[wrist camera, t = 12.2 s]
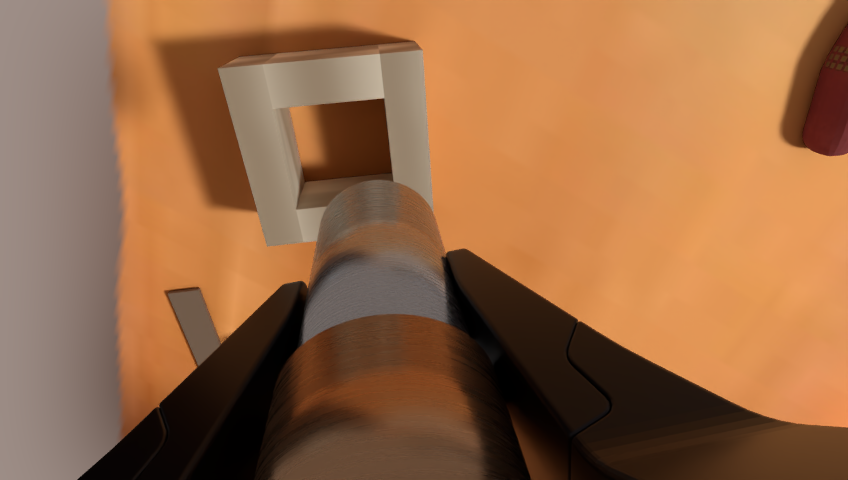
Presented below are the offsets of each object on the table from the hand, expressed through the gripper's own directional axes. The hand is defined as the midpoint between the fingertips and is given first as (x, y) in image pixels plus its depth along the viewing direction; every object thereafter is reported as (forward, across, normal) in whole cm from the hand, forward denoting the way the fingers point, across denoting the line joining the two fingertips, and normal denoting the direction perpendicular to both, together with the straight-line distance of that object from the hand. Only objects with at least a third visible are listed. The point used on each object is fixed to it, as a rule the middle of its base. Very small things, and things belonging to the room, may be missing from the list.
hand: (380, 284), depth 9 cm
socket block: (+12, +1, 0) cm, 12 cm away
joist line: (+12, +12, +14) cm, 22 cm away
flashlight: (+2, 0, 0) cm, 2 cm away
